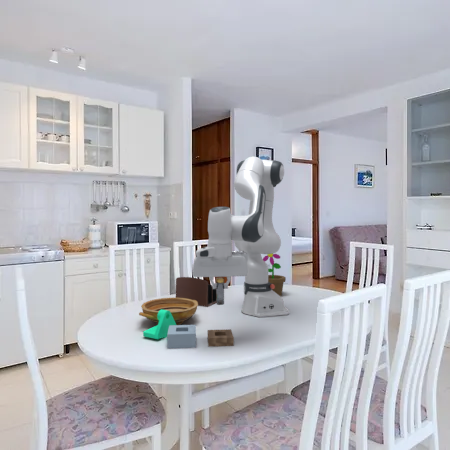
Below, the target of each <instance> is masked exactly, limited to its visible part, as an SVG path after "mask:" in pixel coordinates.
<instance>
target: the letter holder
mask: <svg viewBox="0 0 450 450" xmlns="http://www.w3.org/2000/svg"><path fill="white" fill-rule="evenodd" d="M175 298H186V299H191V300H196V301H197V302H198V306H197V307H203V308H204V307H205V308H208V307H210V306H212V305H216V304H217V300H216V289H213V288H212V284H209V281H207V280H205V279H203V278H199V277H192V276H191V277H189V276H180V277H179V276H178V277H176V279H175Z"/></svg>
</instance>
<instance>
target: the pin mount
mask: <svg viewBox="0 0 450 450" xmlns="http://www.w3.org/2000/svg"><path fill="white" fill-rule="evenodd" d="M234 340H235V338H234V334H233V331H232V328H231V329H230V328H229V329H228V328H227V329H207V344H208V347H234V345H235V344H234V343H235V341H234Z"/></svg>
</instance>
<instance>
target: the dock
mask: <svg viewBox="0 0 450 450" xmlns="http://www.w3.org/2000/svg"><path fill="white" fill-rule="evenodd" d="M166 339H167V343H166V344H167V346H166V347H167V348H166V349H191V348H193V349H194V348H197V340H196V339H197V325H196V324H180V325H169V329H168V334H167V337H166Z"/></svg>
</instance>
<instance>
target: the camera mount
mask: <svg viewBox="0 0 450 450" xmlns="http://www.w3.org/2000/svg"><path fill="white" fill-rule="evenodd" d="M157 318H158V320H159V323H158V324H157V325H155V326H153V327H150V328H148V329H146V330H143V332H142V336H143V337H146V338H151V339H155V340H159V339H167V334H168V329H169V325H176V323H175V321H174V318H173V316H172V314H171V312H170V311H168V310H162V309H161V310H160V311H159V312H158V315H157Z"/></svg>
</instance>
